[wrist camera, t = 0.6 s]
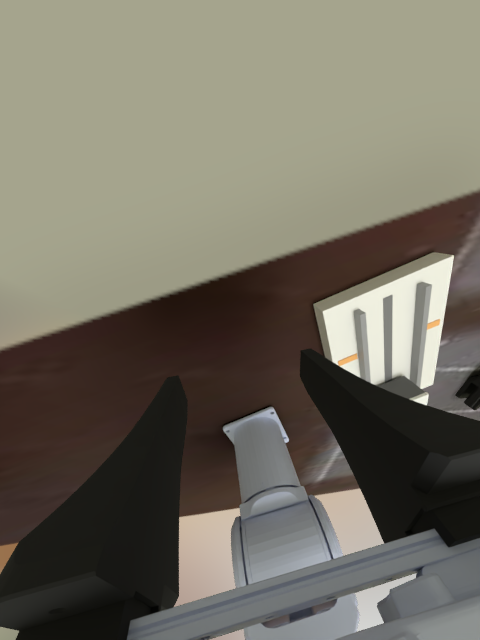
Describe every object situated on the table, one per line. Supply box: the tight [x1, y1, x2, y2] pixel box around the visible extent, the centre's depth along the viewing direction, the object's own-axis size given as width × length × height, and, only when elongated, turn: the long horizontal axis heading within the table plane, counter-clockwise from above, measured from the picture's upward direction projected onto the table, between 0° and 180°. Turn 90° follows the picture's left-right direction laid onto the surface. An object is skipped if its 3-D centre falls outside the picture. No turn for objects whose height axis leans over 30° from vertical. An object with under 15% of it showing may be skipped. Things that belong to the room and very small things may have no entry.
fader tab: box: [378, 376, 429, 405], centre depth 26 cm, size 2×4×3 cm, turn 112°
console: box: [313, 252, 454, 389], centre depth 25 cm, size 20×14×3 cm
